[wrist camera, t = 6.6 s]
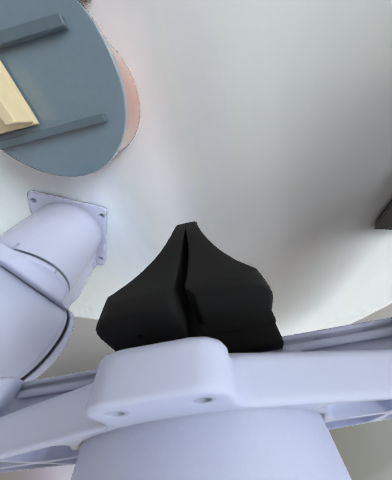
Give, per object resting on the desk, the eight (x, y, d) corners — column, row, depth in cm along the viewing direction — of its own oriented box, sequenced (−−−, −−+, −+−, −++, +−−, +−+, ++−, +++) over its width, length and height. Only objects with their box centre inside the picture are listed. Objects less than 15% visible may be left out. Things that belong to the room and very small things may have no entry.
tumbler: (113, -2, 12) (51, -113, 6) (157, 146, 18) (147, 161, 12) (-9, 35, 13) (-173, -35, 7) (71, 167, 18) (19, 192, 12)
